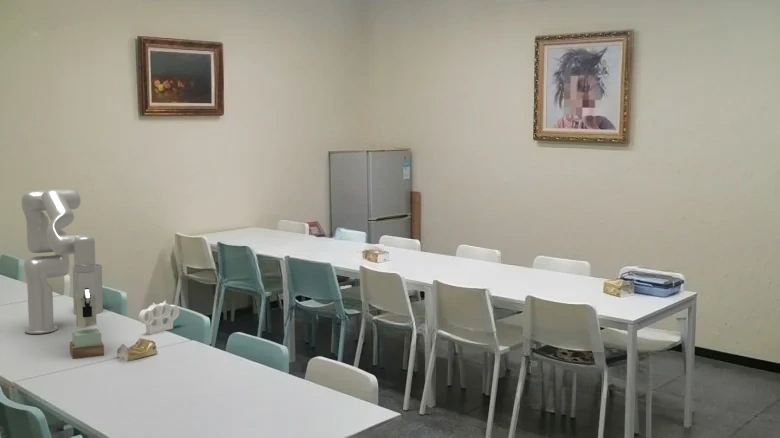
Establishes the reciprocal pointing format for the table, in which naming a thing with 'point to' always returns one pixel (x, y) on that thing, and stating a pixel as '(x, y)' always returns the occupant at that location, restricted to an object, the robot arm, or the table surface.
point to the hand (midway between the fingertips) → (86, 314)
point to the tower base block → (86, 351)
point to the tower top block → (86, 337)
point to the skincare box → (80, 319)
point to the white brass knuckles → (159, 317)
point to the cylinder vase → (96, 288)
